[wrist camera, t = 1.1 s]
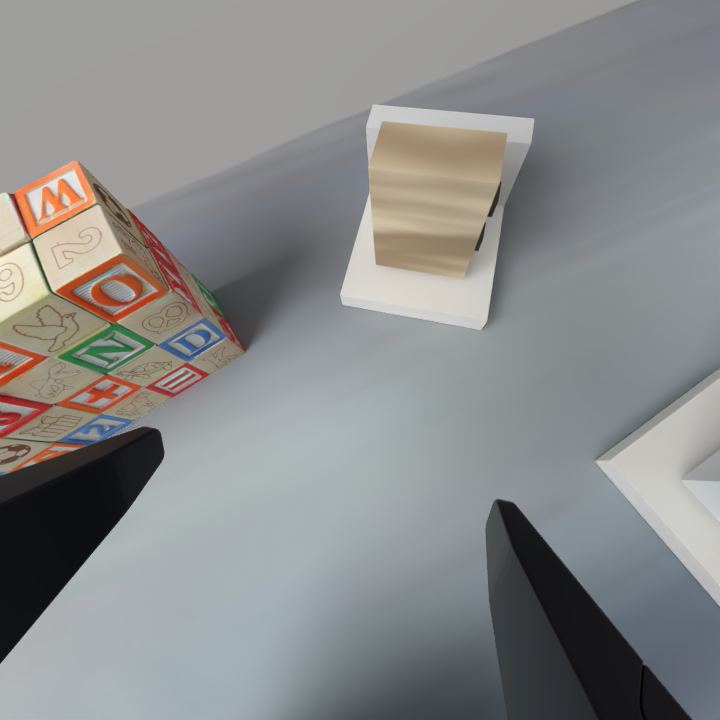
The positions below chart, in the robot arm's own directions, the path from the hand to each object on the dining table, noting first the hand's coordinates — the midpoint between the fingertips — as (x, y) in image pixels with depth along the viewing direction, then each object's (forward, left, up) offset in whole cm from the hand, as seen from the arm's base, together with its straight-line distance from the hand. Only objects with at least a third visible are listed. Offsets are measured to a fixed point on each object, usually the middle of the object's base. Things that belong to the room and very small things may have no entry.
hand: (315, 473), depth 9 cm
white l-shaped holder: (+11, -13, -13) cm, 21 cm away
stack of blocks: (+14, +13, -14) cm, 24 cm away
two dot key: (+9, -12, -11) cm, 19 cm away
